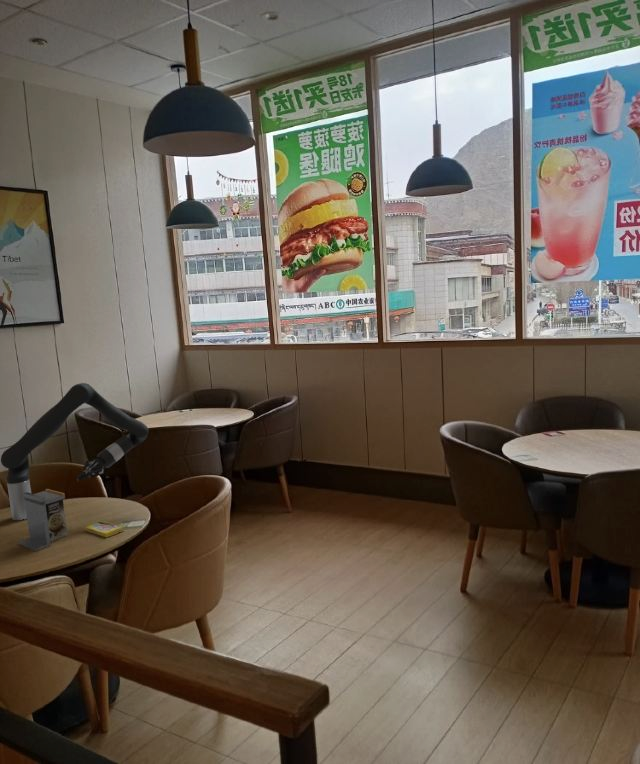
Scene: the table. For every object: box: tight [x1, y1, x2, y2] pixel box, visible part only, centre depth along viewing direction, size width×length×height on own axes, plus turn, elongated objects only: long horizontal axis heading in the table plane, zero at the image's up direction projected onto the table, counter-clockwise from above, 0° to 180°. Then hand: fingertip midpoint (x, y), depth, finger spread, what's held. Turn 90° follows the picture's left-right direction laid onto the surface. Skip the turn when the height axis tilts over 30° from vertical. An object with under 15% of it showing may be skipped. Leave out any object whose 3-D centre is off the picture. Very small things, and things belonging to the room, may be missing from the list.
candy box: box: [84, 520, 125, 538], centre depth 257 cm, size 16×2×8 cm
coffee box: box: [45, 499, 68, 542], centre depth 253 cm, size 9×6×16 cm
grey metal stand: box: [17, 488, 66, 552], centre depth 250 cm, size 14×15×20 cm
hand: (78, 480), depth 265 cm, fingers closed
